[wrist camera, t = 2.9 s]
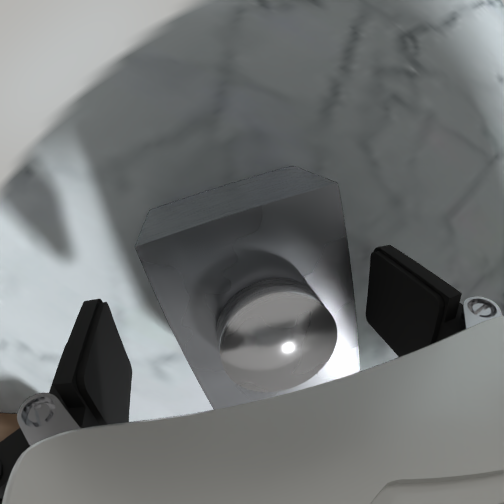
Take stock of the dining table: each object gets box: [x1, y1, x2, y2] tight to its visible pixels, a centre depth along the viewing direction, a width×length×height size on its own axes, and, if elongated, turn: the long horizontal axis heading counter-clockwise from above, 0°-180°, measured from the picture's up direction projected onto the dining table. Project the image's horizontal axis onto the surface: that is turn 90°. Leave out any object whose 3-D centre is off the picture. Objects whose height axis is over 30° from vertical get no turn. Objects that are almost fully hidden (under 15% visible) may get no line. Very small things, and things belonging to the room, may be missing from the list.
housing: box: [135, 166, 360, 410], centre depth 12 cm, size 6×8×6 cm
